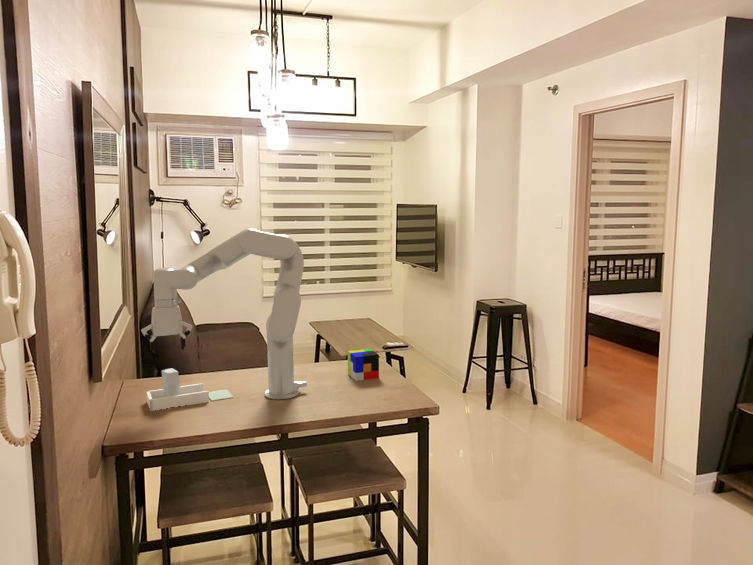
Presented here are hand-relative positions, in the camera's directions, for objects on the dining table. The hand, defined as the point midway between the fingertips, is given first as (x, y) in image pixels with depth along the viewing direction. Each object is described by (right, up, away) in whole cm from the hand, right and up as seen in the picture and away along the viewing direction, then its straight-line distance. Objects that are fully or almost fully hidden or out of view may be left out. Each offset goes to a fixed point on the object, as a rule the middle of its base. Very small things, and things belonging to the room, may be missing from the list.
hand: (168, 350), depth 211 cm
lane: (+2, -19, +4) cm, 20 cm away
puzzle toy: (+69, -15, +33) cm, 78 cm away
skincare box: (0, -20, +3) cm, 20 cm away
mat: (+16, -18, +10) cm, 26 cm away
